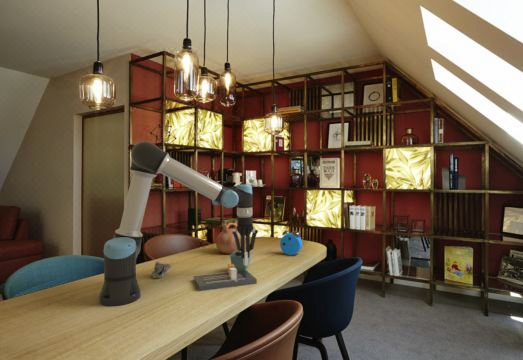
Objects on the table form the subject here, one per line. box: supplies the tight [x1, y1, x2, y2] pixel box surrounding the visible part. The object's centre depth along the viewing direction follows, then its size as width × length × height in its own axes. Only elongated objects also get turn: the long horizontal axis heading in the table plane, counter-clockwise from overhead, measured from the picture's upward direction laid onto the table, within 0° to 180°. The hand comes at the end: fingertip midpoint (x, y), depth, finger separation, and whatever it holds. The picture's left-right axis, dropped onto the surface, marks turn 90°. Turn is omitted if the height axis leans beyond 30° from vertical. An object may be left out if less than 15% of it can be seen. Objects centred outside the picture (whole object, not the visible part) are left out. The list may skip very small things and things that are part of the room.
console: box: [193, 269, 258, 292], centre depth 148 cm, size 26×15×3 cm, turn 111°
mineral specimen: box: [151, 261, 172, 280], centre depth 157 cm, size 10×8×10 cm
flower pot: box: [229, 251, 252, 271], centre depth 165 cm, size 9×9×9 cm
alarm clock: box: [279, 230, 303, 256], centre depth 200 cm, size 13×6×15 cm, turn 66°
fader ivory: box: [229, 268, 237, 279], centre depth 146 cm, size 3×3×4 cm
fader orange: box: [226, 263, 235, 275], centre depth 153 cm, size 3×3×4 cm
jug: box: [215, 219, 241, 256], centre depth 206 cm, size 18×18×20 cm
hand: (245, 264), depth 155 cm, fingers closed
